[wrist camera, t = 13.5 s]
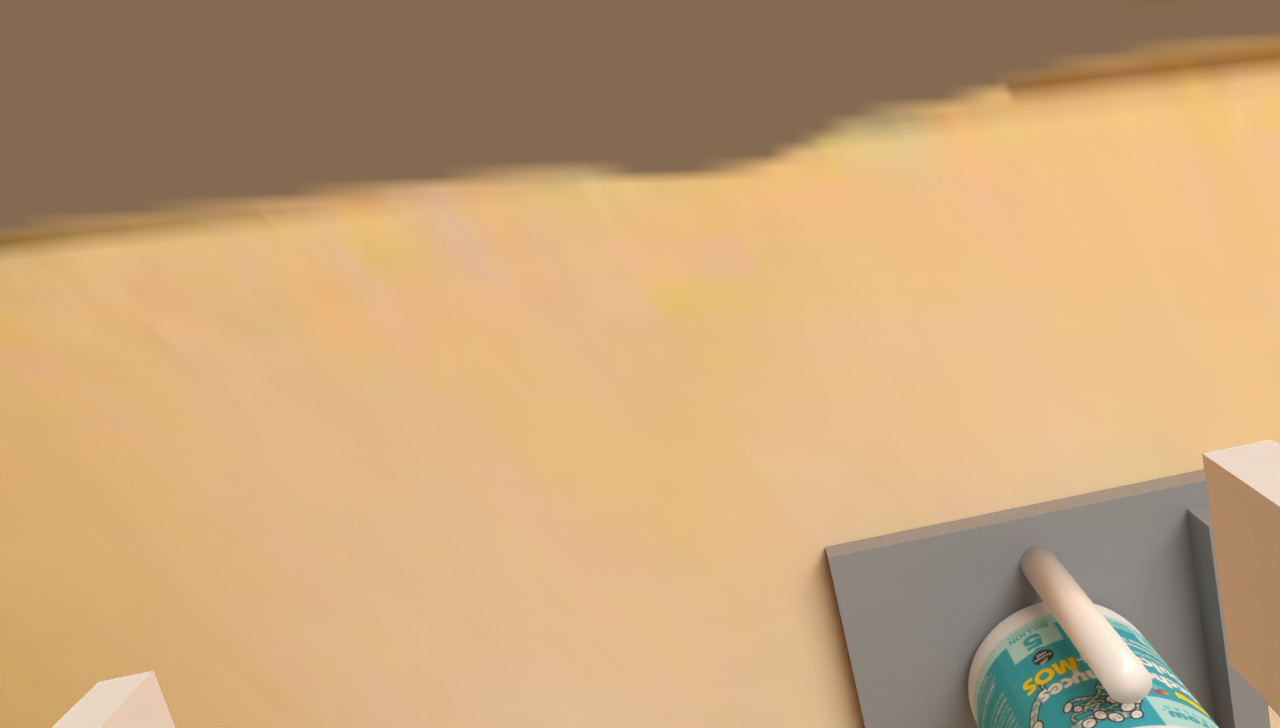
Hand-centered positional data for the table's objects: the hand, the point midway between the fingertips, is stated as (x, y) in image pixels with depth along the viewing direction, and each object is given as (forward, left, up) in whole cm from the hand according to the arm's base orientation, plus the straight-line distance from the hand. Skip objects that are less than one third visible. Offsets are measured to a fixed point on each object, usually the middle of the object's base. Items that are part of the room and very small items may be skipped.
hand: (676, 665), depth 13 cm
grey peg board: (+11, -19, -29) cm, 36 cm away
